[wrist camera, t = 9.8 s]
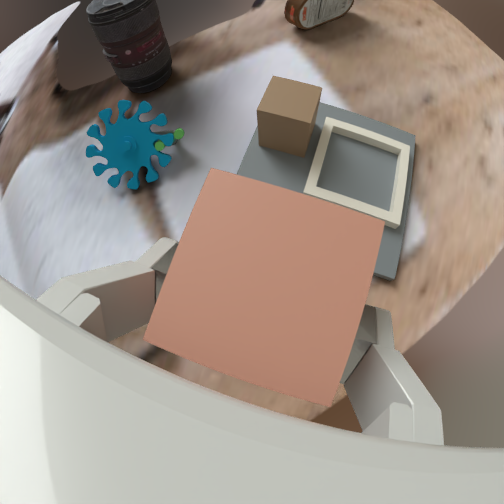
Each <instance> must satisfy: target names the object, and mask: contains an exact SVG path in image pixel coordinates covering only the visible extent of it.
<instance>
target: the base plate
mask: <svg viewBox="0 0 504 504" xmlns="http://www.w3.org/2000/svg"><path fill="white" fill-rule="evenodd" d="M321 91H322V88H321V87H318V86H314V85H310V84H306V83H302V82H298V81H294V80H290V79H285V78H281V77H276V76H273V77H272V79H271V81H270V83H269V85H268V87H267V89H266V91H265V93H264V96H263V98H262V100H261V102H260V104H259V106H258V108H257V122H258V126H257V128H256V130H255V133H254V135H253V137H252V140H251V142H250V144H249V146H248V149H247V151H246V153H245V156H244V158H243V160H242V163H241V165H240V168H239V170H238V172H237V175H240V176H244V177H247V178H251V179H254V180H258V181H261V182H265V183H268V184H272V185H275V186H279V187H282V188H285V189H289V190H292V191H295V192H299V193H302V194H305V195H308V196H311V197H315V198H318V199H321V200H324V201H327V202H330V203H333V204H336V205H339V206H342V207H345V208H348V209H351V210H354V211H357V212H360V213H363V214H365V215H368V216H371V217H374V218H377V219H380V220H382V221H385V225H384V229H383V234H382V239H381V243H380V248H379V252H378V256H377V260H376V265H375V269H374V273H373V275H375V276H378V277H381V278H384V279H387V280H390V281H392V280H394V279H395V275H396V270H397V266H398V261H399V256H400V251H401V246H402V240H403V235H404V229H405V223H406V216H407V210H408V203H409V196H410V188H411V179H412V170H413V160H414V148H415V135H413V134H410V133H408V132H405V131H403V130H400V129H398V128H395V127H392V126H390V125H387V124H385V123H382V122H379V121H376V120H374V119H371V118H368V117H365V116H362V115H359V114H356V113H353V112H350V111H347V110H344V109H341V108H337V107H334V106H331V105H327V104H324V103H320V97H321Z"/></svg>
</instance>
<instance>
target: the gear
mask: <svg viewBox="0 0 504 504" xmlns="http://www.w3.org/2000/svg"><path fill="white" fill-rule="evenodd" d="M130 107H131V101H128V100H120V101H119V102H118V108H119V117H118V119H117V122H116V123H115V124H112V123H111V122H110V118H111V115H112V110H111V108H107V109H104V110H102V111H100V112H99V117H100V118H101V119H102V120H103V121H104V123H105V126H106V135H105V136H102V135H101V134H100V128H99V126H98V125H96V124H94V125H92V126H91V127H90V128H89V130H88V131H87V135H88V136H90V137H94V138H96V139H98V140H99V141H100V142H101V144H102V145H103V150H102V151H100V150H98V149H97V147H96V146H95V145H89V146H87V148H86V157H89V158H90V157H93V156H102V157H104V158H106V159H107V160H108V164H107V165H104V164H102V163H97V164H96V165H95V166H93V171H94V173H95V175H96V176H100V175H101V174H102V173H103V172H104V171H105V170H106V169H109V168H117V169H118V170H119V174H117V175H113V176H111V177H110V178H109V179H108V183H109V184H110V185H111V186H112V187H114V188H116V187H117V186H118V185H119V183H120V179H121V177H122V175H123V174H124V173H125V172H126V171H131V172H132V173H133V177H132V178H131V179H130V180H129V181H128V183H127V187H128V188H130V189H137V188H138V187H139V185H140V182H139V178H138V173H139V170H140V167H141V166H145V167H147V169H148V173H147V175H146V180H147V182H153V181H155V180H157V179H158V177H159V175H158V172H157V171H155V169H154V168H153V167H152V164H151V155H157V156H158V158H159V164H160V165H161V166H162V167H165V166H167V165H168V163H169V162H170V161H171V159H172V158H171V156H170V155H168V154H165V153H162V152H160V151H161V150H163V149H164V147H165V146H171V145H174V144H175V143H176V142H177V140H178V139H181V138H182V137H183V135H184V130H183V129H181V128H178V129H176V130H175V131H173V130H168V131H160V132H152V131H151V130H150V126H151V125H152V124H156V125H158V126H164V125H166V124H167V118H166V116H165V114H163V113H162V114H159V115H158V116H157V117H156V118H155V119H153V120H151V121H148V122H141V121H140V120H139V116H140V114H142V113H147V112H149V111H150V110H151V109H152V106H151V105H150V104H149V103H148V102H146V101H142V102H141V103H140V104H139V108H138V110H137V112H136V114H135V115H134V116H133V117H131V118H130V119H126V118H125V116H124V113H125V112H126V111H127V110H128V109H129V108H130Z"/></svg>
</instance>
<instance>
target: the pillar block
mask: <svg viewBox="0 0 504 504" xmlns="http://www.w3.org/2000/svg"><path fill="white" fill-rule="evenodd" d="M384 225H385V221H382V220H380V219H377V218H374V217H371V216H368V215H365V214H363V213H360V212H357V211H354V210H351V209H348V208H345V207H342V206H339V205H336V204H333V203H330V202H327V201H324V200H321V199H318V198H315V197H311V196H308V195H305V194H302V193H299V192H295V191H292V190H289V189H285V188H282V187H279V186H275V185H272V184H268V183H265V182H261V181H258V180H254V179H251V178H247V177H244V176H240V175H236V174H233V173H229V172H225V171H221V170H218V169H214V168H211V169H210V171H209V174H208V176H207V178H206V180H205V182H204V185H203V187H202V189H201V192H200V194H199V196H198V198H197V201H196V203H195V205H194V208H193V210H192V212H191V215H190V217H189V220H188V222H187V224H186V227H185V229H184V232H183V234H182V237H181V239H180V241H179V244H178V246H177V249H176V251H175V254H174V256H173V259H172V262H171V264H170V267H169V269H168V272H167V275H166V277H165V280H164V282H163V285H162V288H161V290H160V293H159V296H158V299H157V301H156V304H155V307H154V310H153V312H152V315H151V318H150V321H149V324H148V327H147V329H146V332H145V335H144V338H143V340H145V341H147V342H149V343H151V344H153V345H156V346H158V347H160V348H162V349H165V350H167V351H169V352H172V353H174V354H176V355H179V356H181V357H183V358H186V359H188V360H191V361H193V362H196V363H198V364H201V365H203V366H206V367H208V368H211V369H213V370H216V371H219V372H221V373H224V374H227V375H229V376H232V377H235V378H238V379H240V380H243V381H246V382H249V383H252V384H255V385H258V386H261V387H264V388H267V389H270V390H273V391H276V392H280V393H283V394H286V395H289V396H293V397H296V398H299V399H303V400H306V401H310V402H314V403H317V404H321V405H325V406H329V407H331V404H332V401H333V399H334V396H335V394H336V391H337V388H338V386H339V383H340V380H341V377H342V375H343V372H344V369H345V366H346V363H347V360H348V357H349V355H350V352H351V349H352V345H353V342H354V339H355V336H356V333H357V330H358V326H359V323H360V320H361V317H362V313H363V310H364V306H365V303H366V299H367V295H368V292H369V288H370V284H371V280H372V277H373V273H374V269H375V265H376V260H377V256H378V252H379V248H380V243H381V239H382V234H383V229H384Z"/></svg>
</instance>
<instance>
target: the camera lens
mask: <svg viewBox="0 0 504 504" xmlns="http://www.w3.org/2000/svg"><path fill="white" fill-rule="evenodd" d="M86 11H87V14H88V21H89V23H90V25H91V27H92V29H93V31H94V33H95V35H96V37H97V39H98V40H99V42H100V44H101V45H102V46H103V48H104V50H103V53H104V55H105V57H106V59H107V60H108V61H109V62H111V65H112V67H113V69H114V71H115V73H116V75H117V76H118V77H119V78H120V80H121V81H122V83H123V84H124V85H125V86H128V88H129V89H130V90H131V91H133V92H136V93H145V92H149V91H152V90H154V89H156V88H158V87H160V86H161V85H163V84H164V83H165V82H166V81H167V80H168V79H169V77H170V75H171V72H172V69H171V64H172V59H171V55H170V49H169V46H168V43H167V40H166V38H165V34H164V31H163V28H162V25H161V22H160V16H159V10H158V7H157V4H156V0H93V1H92V2H91V3H90V5H89V6H88V7H87V10H86Z"/></svg>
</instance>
